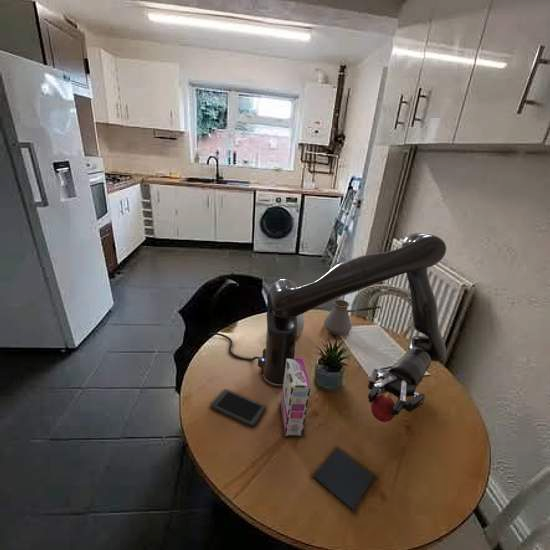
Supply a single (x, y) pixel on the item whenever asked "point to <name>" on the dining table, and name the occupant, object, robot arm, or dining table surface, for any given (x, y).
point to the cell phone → (238, 407)
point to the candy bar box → (294, 397)
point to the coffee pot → (341, 317)
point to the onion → (382, 408)
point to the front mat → (344, 478)
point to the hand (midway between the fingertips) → (381, 405)
